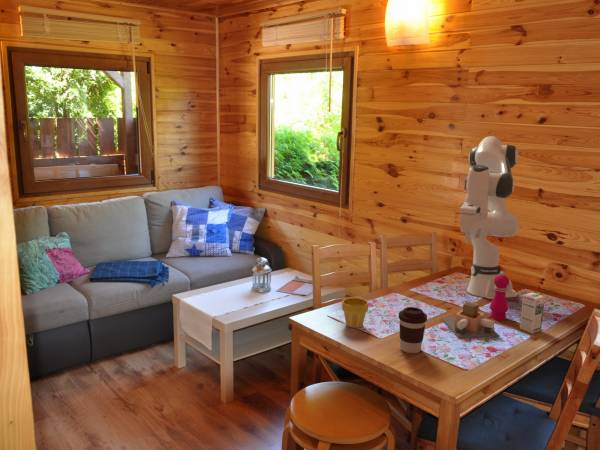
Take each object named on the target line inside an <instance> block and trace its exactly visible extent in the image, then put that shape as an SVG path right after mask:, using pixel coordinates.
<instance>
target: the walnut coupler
mask: <svg viewBox="0 0 600 450" xmlns="http://www.w3.org/2000/svg"><path fill="white" fill-rule="evenodd" d="M462 309H463V312H462V315H464V316H468V317H471V318H476V317H477V316H478V312H479V303H476V302H471V301H467V302H465V303H463V304H462Z"/></svg>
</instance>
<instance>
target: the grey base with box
mask: <svg viewBox="0 0 600 450" xmlns="http://www.w3.org/2000/svg"><path fill="white" fill-rule="evenodd" d="M462 312H463V308H462V309H461V310H459V311H458V312H456V313H455V315H454V316H446V317H445V316H444V317H440V320H441V321H442V322H443V323H444V325H445V326H446V325H447V326H448V327H447V326H446V327H447V328H448V329H449V330H450V331H451V332H452V334H453V335H455V336H456V338H457V339H481V338H484V339H485V338H499V337H500V334H499V333H498V332H496V331H495V321H494V320H491V319H488V318H485V315H486V314H485V313H484V312H480V311H478V316H477V317H476V318H471V317H468V316H464V315H462Z"/></svg>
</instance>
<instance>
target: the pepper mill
mask: <svg viewBox="0 0 600 450" xmlns="http://www.w3.org/2000/svg"><path fill="white" fill-rule="evenodd" d="M509 280H510V279H509V277H508V276H507V275H505V271H504V272H503V271H501V273H500V275H498V276H496V277H495V278H494V284H495V288H494V289H495V296H494V298H493V299H491V301H490V304H489V309H490V310H491V311H490V314H489V316H490V318H491V319H493V320H497V321H505V320H506V319H507V314H506V313H507V312H508V311H509V304H508V301H507V298H506V291H507V286H508V285H509Z"/></svg>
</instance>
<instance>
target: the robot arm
mask: <svg viewBox="0 0 600 450" xmlns="http://www.w3.org/2000/svg"><path fill="white" fill-rule="evenodd" d="M518 160H519V152H518V149H517V147H516V146H515V145H513V144H512V145H511V144H505V145H504V144H502V142H501V140H500V139H499V138H498V137H496V136H494V135H489V136H486V137H484V138H483V139H482V140H481V141H480V142H479V143H478V145H477V146H473V147H472V148H471V149H470V151H469V153H468V162H469V165H470V167H469V169H468V172H467V173H468V174H467V176H466V177H465V179H464V190H465V191H466V195H465V198H464V202H463V204H462V205H461V206H460V208H459V213H461V214H460V218H459V219H460V221H459V228H460V232H461V233H464V235H465V243H472V247H473V258H472V263H471V269H470V272H471V275H470V279H469V284H468V287H467V289H466V292H468V293H469V294H470V295H473V296H475V297H480V298H481V297H482V298H485V299H488V300H493V298H494V296H495V289H494V288H495V284H494V278H495V277H496V276H498V275H500V273H501V272H504V273H505V271H506V268H505V267H504V266H501V265H499V259H500V257H499V256H500V250H499V247H498V246H497V245H496V244H494V243H493V242H491V241H489V240H488V239H487V237H488V236H489V237H498V238H507V237H514V236H515V235H516V234H517V233H518V232H519V229H520V221H519V219H518V217H517V216H516V215H515V214H513V213H512V212H511V210H509V208H508V207H507V205H506V201H505V199H507V198H509V197H510V196H511V195H512V194H513V192H514V189H515V180H514V178H513V175H512V174H513V173H512V170H511V169H513V168H514V167H515V165H517V162H518ZM517 297H518V293H517V292H516V290H514V289H513V284H512V281H511V280H510V279H509V285H508V286H507V291H506V299H507V298H517Z"/></svg>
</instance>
